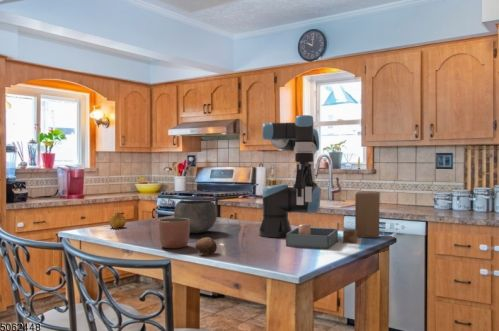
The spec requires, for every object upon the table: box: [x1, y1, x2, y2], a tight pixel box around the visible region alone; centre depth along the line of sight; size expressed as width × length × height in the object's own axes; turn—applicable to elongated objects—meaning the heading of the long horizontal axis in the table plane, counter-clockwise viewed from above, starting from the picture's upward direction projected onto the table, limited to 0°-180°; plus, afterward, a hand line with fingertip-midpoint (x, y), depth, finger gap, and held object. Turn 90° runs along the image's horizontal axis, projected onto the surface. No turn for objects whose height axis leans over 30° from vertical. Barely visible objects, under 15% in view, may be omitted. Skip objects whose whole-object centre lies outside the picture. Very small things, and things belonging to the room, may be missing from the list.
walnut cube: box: [342, 228, 358, 244], centre depth 188 cm, size 5×5×5 cm
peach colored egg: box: [298, 223, 312, 235], centre depth 186 cm, size 5×5×7 cm
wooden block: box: [354, 190, 380, 239], centre depth 202 cm, size 10×10×20 cm
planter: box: [158, 217, 190, 250], centre depth 179 cm, size 12×12×11 cm
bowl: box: [173, 199, 218, 234], centre depth 213 cm, size 20×20×15 cm
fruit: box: [108, 212, 127, 229], centre depth 231 cm, size 8×8×8 cm
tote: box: [285, 226, 339, 250], centre depth 185 cm, size 17×19×5 cm
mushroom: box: [195, 236, 218, 256], centre depth 166 cm, size 8×8×6 cm
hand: (304, 203), depth 186 cm, fingers open, 13 cm apart
